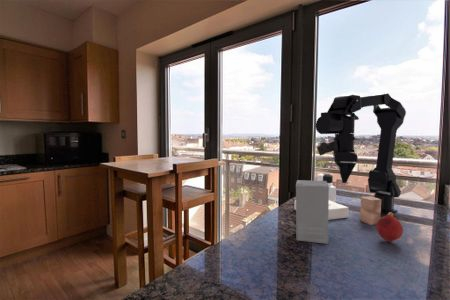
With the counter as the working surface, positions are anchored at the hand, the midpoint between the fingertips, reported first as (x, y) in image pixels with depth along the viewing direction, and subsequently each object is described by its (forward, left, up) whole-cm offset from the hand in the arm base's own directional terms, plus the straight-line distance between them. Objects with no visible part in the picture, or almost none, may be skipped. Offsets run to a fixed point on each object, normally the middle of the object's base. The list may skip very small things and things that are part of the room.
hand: (343, 180), depth 80 cm
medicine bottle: (-9, -19, -14) cm, 25 cm away
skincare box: (+20, +10, -14) cm, 26 cm away
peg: (-7, +5, -13) cm, 16 cm away
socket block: (+3, -7, -13) cm, 16 cm away
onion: (+1, +18, -14) cm, 22 cm away
